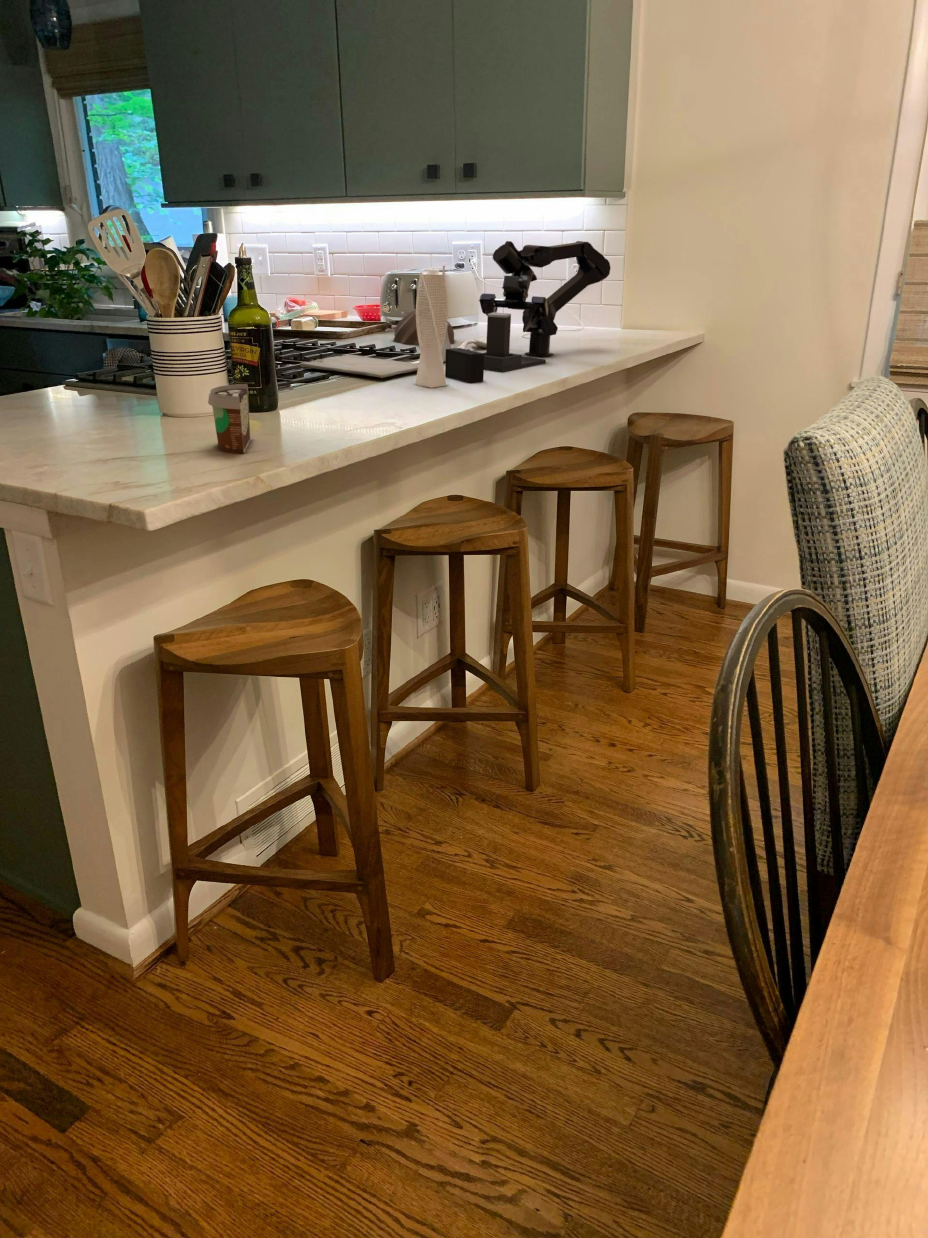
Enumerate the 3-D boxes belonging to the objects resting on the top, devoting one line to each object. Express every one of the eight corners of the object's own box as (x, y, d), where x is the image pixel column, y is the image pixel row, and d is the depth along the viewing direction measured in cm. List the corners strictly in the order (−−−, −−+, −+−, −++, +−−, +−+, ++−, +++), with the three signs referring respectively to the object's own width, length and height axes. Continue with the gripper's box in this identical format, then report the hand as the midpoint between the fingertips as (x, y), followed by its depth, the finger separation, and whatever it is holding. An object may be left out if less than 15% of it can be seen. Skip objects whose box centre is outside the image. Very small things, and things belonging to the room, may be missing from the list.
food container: (217, 438, 172) (213, 383, 168) (251, 438, 172) (247, 383, 168) (206, 455, 160) (201, 396, 156) (242, 455, 161) (238, 396, 157)
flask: (456, 358, 264) (457, 322, 260) (453, 362, 258) (454, 325, 254) (431, 357, 265) (431, 321, 261) (427, 361, 258) (428, 324, 254)
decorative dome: (380, 340, 294) (379, 306, 289) (422, 335, 307) (423, 303, 303) (425, 347, 282) (425, 313, 278) (467, 341, 296) (468, 308, 292)
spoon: (432, 356, 267) (432, 343, 266) (482, 343, 293) (482, 332, 292) (460, 359, 263) (460, 346, 262) (508, 346, 290) (508, 334, 288)
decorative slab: (297, 369, 240) (297, 361, 240) (348, 359, 257) (348, 352, 256) (384, 382, 228) (384, 373, 227) (431, 370, 245) (431, 363, 244)
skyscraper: (453, 385, 227) (456, 262, 215) (432, 389, 222) (434, 263, 210) (430, 380, 231) (432, 260, 220) (409, 384, 226) (409, 261, 215)
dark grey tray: (498, 356, 271) (499, 343, 270) (545, 362, 263) (546, 350, 261) (453, 364, 255) (454, 351, 253) (502, 372, 246) (503, 358, 245)
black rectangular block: (487, 381, 234) (488, 352, 231) (470, 383, 230) (471, 354, 228) (461, 374, 241) (462, 346, 238) (445, 376, 238) (445, 348, 235)
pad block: (491, 361, 255) (493, 312, 250) (508, 363, 254) (511, 313, 248) (485, 364, 251) (487, 313, 246) (503, 365, 249) (505, 315, 244)
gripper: (482, 262, 256) (469, 308, 251) (548, 265, 251) (536, 312, 246) (489, 290, 266) (476, 334, 261) (553, 293, 261) (541, 339, 256)
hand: (507, 329), depth 256 cm, fingers open, 9 cm apart
